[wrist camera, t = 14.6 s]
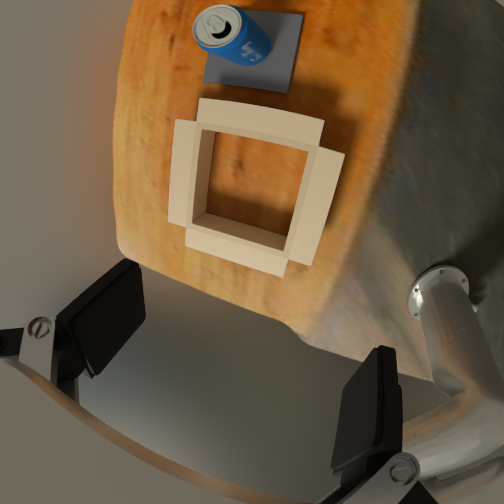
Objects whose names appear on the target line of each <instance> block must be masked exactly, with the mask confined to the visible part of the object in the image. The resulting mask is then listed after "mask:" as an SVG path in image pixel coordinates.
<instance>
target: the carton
mask: <svg viewBox="0 0 504 504" xmlns="http://www.w3.org/2000/svg"><path fill="white" fill-rule="evenodd" d="M323 125H324V120H321V119H317V118H314V117H310V116H306V115H301V114H297V113H293V112H288V111H283V110H279V109H274V108H268V107H263V106H257V105H251V104H245V103H239V102H232V101H224V100H216V99H206V98H200V100H199V106H198V113H197V121H191V120H182V119H176V120H175V129H174V138H173V148H172V160H171V173H170V189H169V209H168V222H170V223H173V224H177V225H180V226H183V227H186V237H185V246H187V247H190V248H193V249H196V250H199V251H202V252H205V253H208V254H211V255H214V256H217V257H220V258H223V259H226V260H229V261H232V262H235V263H239V264H242V265H245V266H248V267H251V268H254V269H257V270H260V271H263V272H266V273H269V274H273V275H276V276H279V277H282V278H283V276H284V272H285V269H286V266H287V262H288V259H289V260H292V261H296V262H299V263H302V264H305V265H308V266H311V264H312V261H313V258H314V255H315V252H316V249H317V246H318V243H319V240H320V237H321V234H322V231H323V228H324V225H325V221H326V218H327V215H328V212H329V209H330V205H331V202H332V199H333V195H334V192H335V188H336V185H337V182H338V178H339V175H340V171H341V167H342V164H343V160H344V156H345V154H343V153H340V152H337V151H333V150H330V149H327V148H323V147H320V143H319V142H320V138H321V133H322V129H323ZM216 131H217V132H223V133H228V134H234V135H239V136H244V137H249V138H254V139H259V140H263V141H268V142H272V143H277V144H281V145H285V146H289V147H293V148H297V149H301V150H305V151H308V152H309V153H308V157H307V161H306V165H305V170H304V174H303V178H302V182H301V186H300V190H299V194H298V198H297V202H296V206H295V209H294V213H293V217H292V221H291V225H290V229H289V232H288V236H284V235H280V234H277V233H274V232H270V231H267V230H264V229H260V228H257V227H254V226H250V225H247V224H243V223H240V222H237V221H233V220H230V219H226V218H223V217H219V216H216V215H212V214H209V213H205V212H206V203H207V194H208V186H209V177H210V169H211V162H212V154H213V147H214V140H215V133H216Z"/></svg>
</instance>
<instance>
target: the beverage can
mask: <svg viewBox="0 0 504 504" xmlns="http://www.w3.org/2000/svg"><path fill="white" fill-rule="evenodd" d="M192 31H193V36H194V38H195V40H196V42H197V44H198V45H199V46H200V47H201V48H202V49H204V50H205V51H207V52H210V53H213V54H215V55H218V56H220V57H222V58H225V59H227V60H230V61H232V62H234V63H236V64H239V65H242V66H252V65H256V64H258V63H260V62H262V61H263V60H264V59H265V58H266V57H267V56H268V55H269V53H270V50H271V40H270V38H269V36H268V35H267V34H266V32H265V31H264V30H263V29H262V28H261V27H260V26H259V25H258V24H257V23H256V22H255V21H253V20H252V19H251V18H250V17H249V16H248V15H247V14H246V13H245V12H244V11H243V10H241V9H240V8H238V7H235V6H231V5H214V6H211V7H209V8H207V9H205V10H204V11H202V12H201V13H200V14H199V15H198V16H197V18H196V19H195V21H194V24H193V29H192Z"/></svg>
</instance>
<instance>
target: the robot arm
mask: <svg viewBox="0 0 504 504" xmlns="http://www.w3.org/2000/svg"><path fill="white" fill-rule="evenodd" d="M468 294H469V283H468V279H467V277H466V276H465V274H464V273H463V272H462V270H460V269H459V268H457V267H455V266H452V265H440V266H436V267H433V268H431V269H429V270H427V271H426V272H424V273H423V274H422V275H421V276H419V277H418V279H417V280H416V281H415V282H414V284H413V285H412V287H411V289H410V292H409V296H408V306H409V310H410V313H411V314H412V316H413V317H414V318H415V319H416V320H418V321H419V322H421V324H422V328H423V332H424V337H425V341H426V346H427V351H428V356H429V361H430V366H431V372H432V377H433V381H434V383H435V385H436V386H437V387H438V389H439V390H440V391H442V392H443V393H445V394H446V395H448V396H450V397H452V399H451V400H450V401H449V402H447V403H445V404H443V405H442V406H440V407H438V408H436V409H434V410H432V411H430V412H428V413H426V414H423V415H421V416H419V417H417V418H415V419H413V420H410V421H408V422H406V423H404V424H403V410H402V390H401V387H400V385H398V374H397V361H396V351H395V349H394V348H391V347H387V346H383V345H380V346H379V347H378V348H373V350H372V351H371V352H370V354H369V355H368V357H367V358H366V359H365V361H364V362H363V363H362V365H361V366H360V367H359V369H358V370H357V371H356V373H355V374H354V375H353V376H352V378H351V379H350V380H349V382H348V383H347V384H346V385H345V387H344V389H343V392H342V398H341V407H340V413H339V420H338V427H337V433H336V439H335V445H334V451H333V456H332V461H331V468H332V469H334V471H333V475H337V476H342V477H341V482H340V486H338V487H337V488H336V489H334V490H333V491H332V492H331V493H329V494H328V495H327V496H325V497H324V498H323V499H321V500H320V501H318V502H317V503H316V504H504V456H500V457H497V458H494V459H491V460H489V461H487V462H484V463H482V464H479V465H477V466H475V467H473V468H470V469H468V470H465V471H463V472H461V473H458V474H455V475H453V476H450V477H447V478H444V479H438V478H437V477H436V476H438V475H441V474H444V473H447V472H449V471H452V470H456V469H458V468H461V467H463V466H465V465H468V464H470V463H472V462H475V461H477V460H479V459H481V458H483V457H485V456H487V455H488V454H490V453H492V452H493V451H495V450H496V449H497V448H499V447H500V446H501V445H503V443H504V381H503V379H502V376H501V374H500V372H499V370H498V368H497V365H496V363H495V360H494V358H493V355H492V352H491V350H490V347H489V345H488V342H487V340H486V337H485V335H484V332H483V330H482V328H481V325H480V323H479V321H478V318H477V316H476V314H475V312H476V311H477V309H478V306H477V305H475V304H472V303H471V301H470V299H469V297H468ZM145 317H146V312H145V304H144V294H143V283H142V272H141V268H139V264H138V263H137V262H134V261H132V260H129V259H127V258H124V259H123V260H121V261H120V262H119V263H117V264H116V265H115V266H114V267H113V268H111V269H110V270H109V271H108V272H106V273H105V274H104V275H103V276H102V277H100V278H99V279H98V280H97V281H96V282H94V283H93V284H92V285H91V286H90V287H89V288H87V289H86V290H85V291H84V292H83V293H82V294H80V295H79V296H78V297H77V298H76V299H75V300H73V301H72V302H71V303H70V304H69V305H68V306H67V307H66V308H64V309H63V310H62V311H61V312H60V313H59V314H58V315H57V316H56V318H57V319H56V320H55V321H54V319H53V318H52V317H51V316H50V315H47V314H38V315H35V316H33V317H32V318H31V319H29V320H28V322H27V323H26V325H25V327H24V328H15V329H3V330H0V504H312V503H306V502H300V501H295V500H290V499H285V498H281V497H276V496H272V495H268V494H264V493H260V492H256V491H252V490H249V489H245V488H242V487H239V486H235V485H232V484H229V483H226V482H223V481H220V480H217V479H215V478H212V477H209V476H206V475H204V474H202V473H199V472H197V471H194V470H192V469H189V468H187V467H184V466H183V465H180V464H178V463H176V462H174V461H171V460H169V459H167V458H165V457H163V456H161V455H159V454H157V453H155V452H153V451H151V450H150V449H148V448H146V447H144V446H142V445H140V444H138V443H137V442H135V441H133V440H132V439H130V438H128V437H126V436H125V435H123V434H121V433H120V432H118V431H117V430H115V429H113V428H112V427H110V426H109V425H107V424H105V423H104V422H103V421H101V420H100V419H98V418H97V417H95V416H94V415H92V414H91V413H90V412H88V411H87V410H86V409H84V408H83V407H81V406H80V399H79V375H80V374H81V373H84V374H85V375H86V376H88V377H89V378H91V379H92V378H93V377H94V376H95V375H99V374H100V373H101V372H102V370H103V369H104V368H105V367H106V365H107V364H108V363H109V362H110V361H111V360H112V358H113V357H114V356H115V355H116V354H117V352H118V351H119V350H120V349H121V348H122V346H123V345H124V344H125V343H126V342H127V340H128V339H129V338H130V337H131V336H132V335H133V333H134V332H135V331H136V330H137V329H138V328H139V326H140V325H141V324H142V323H143V322H144V320H145Z"/></svg>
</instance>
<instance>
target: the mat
mask: <svg viewBox="0 0 504 504" xmlns="http://www.w3.org/2000/svg"><path fill="white" fill-rule="evenodd" d="M243 11H244V12H245V13H246V14H247V15H248V16H249V17H250V18H251V19H252V20H253V21H255V22H256V23H257V24H258V25H259V26H260V27H261V28H262V29H263V30H264V31H265V32H266V34H267V35H268V36H269V38H270V40H271V50H270V53H269V55H268V56H267V57H266V58H265V59H264V60H263V61H262V62H260V63H258V64H256V65H252V66H242V65H239V64H236V63H234V62H232V61H230V60H227V59H225V58H222V57H220V56H218V55H215V54H213V53H210V52H208V57H207V62H206V67H205V73H204V79H203V83H212V84H223V85H233V86H241V87H248V88H255V89H262V90H268V91H274V92H279V93H284V94H288V92H289V87H290V83H291V78H292V73H293V68H294V63H295V58H296V53H297V48H298V43H299V38H300V33H301V28H302V23H303V18H304V17H303V15H297V14H289V13H280V12H269V11H253V10H243Z"/></svg>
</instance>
